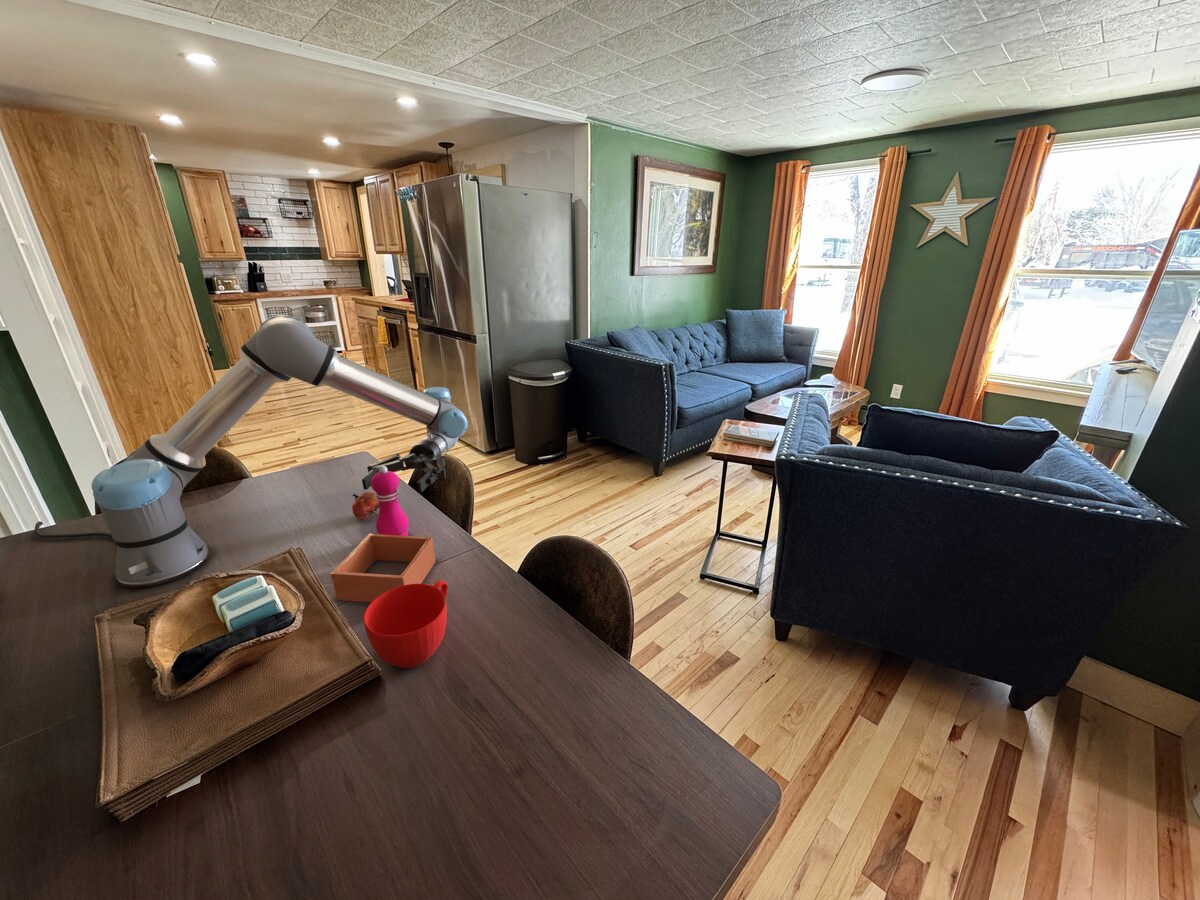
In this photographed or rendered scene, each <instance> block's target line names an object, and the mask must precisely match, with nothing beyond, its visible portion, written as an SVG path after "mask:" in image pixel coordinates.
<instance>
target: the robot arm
mask: <svg viewBox="0 0 1200 900" xmlns="http://www.w3.org/2000/svg"><path fill="white" fill-rule="evenodd" d="M239 352H240V359H239V360H237V362H235V363H234V365H232V367H231V368H230V369H229V370H228V371H226V372H225V374H224V375H223V376H222V377H220V378H219V379H218V381H216V382H215V384H213V385H212V386H211V388H210V389H208V391H206V392H205V393H204V395H202V396H201V398H200V399H198V401H196V402H195V403H194V405H193V406H191V407H190V409H188V410H187V411H186V413H184V414H183V415H182V416H181V417H180V418H179V420H178V419H177V421H176V422H175V423H174V424H173V425H172V426H171V427H170V428H169V429H168V430H167V431H166V432H165V433H157V434H156V433H155V434H152V435H151V436H150V437H149V438H148V439H147V440H146V441H145V442H144V443H143V444H142V445H141V446H140V447H138V448H136V450H134V451H132V452H130V453H129V454H128V455H127V457H125V460H124V461H123V462H120V463H117V464H114V465H111V466H110V468H106V469H103V470H102V471H100V472H99V473H98V474H96V475H95V476H94V477H93V479H92V481H91V490H92V496H93V499H94V501H95V503H96V504H97V505H98V508H99V510H100V512H101V515H102V517H103V520H104V521H105V523H106V525H107V528H108V530H109V532H99V531H98V532H85V533H84V532H82V533H65V534H44V533H41V531H40V527H41V526H43V525H44V523H43V521H37V522H36V523H35V524H34V525H35V526H34V533H35V535H36V536H37V537H39V538H43V539H60V538H81V537H82V538H83V537H94V536H101V537H108V538H112V540H113V542H114V544H115V546H116V555H115V566H114V567H115V570H114V573H115V577H116V580H117V583H118V584H119V585H120V586H121V587H124V588H129V589H143V588H149V587H155V586H160V585H163V584H167V583H170V582H173V581H175V580H179V579H180V578H183V577H184V576H187V575H189V574H191V573H192V572H194V571H196V570H198V569H199V568H200V567H201V566H203V565H204V564H205V563H206V562H207V561H208V559H209V557H210V551H209V548H208V546H207V544H206V543H205V542H204V540H203V539H202V538H201V537H200V536H199V535H198V534H197V533H196V532H195V531H194V530H193V529H192V528H191V527H190V525H189V523H188V521H187V518H186V515H185V512H184V510H183V506H182V503H181V496H182V494H183V492H184V489H185V487H186V486H188V484H189V483H190V482H191V481H192V480H193V479H194V478H195V477H196V476H197V475H198V474H199V472H201V470H203V468H205V467H206V464H207V462H206V461H207V460H206V458H205V456H206V455H207V454H208V453H209V452H210V451H211V450H212V449H213V448H214V447H215V446H216V445H217V444H218V443H219V442H220V441H221V440H222V439H223V438H224V437H225V436H226V434H228V433H229V432H230V431H231V429H232V428H234V426H235V425H236V424H238V422H240V421H241V419H242V418H243V417H244V416H245V415H247V413H249V411H251V409H252V408H253V407H254V406H255V405H257V403H258V402H259V401H260V400H261V399H262V398H264V396H265V395H266V394H267V393H268V392H269V391H270V390H271V389H272V388H273V387H274V386H275V385H277V384H278V383H287V382H289V381H290V380H291V379H292V378H294V379H296V380H298V381H301V382H303V383H307V384H310V385H312V386H314V387H317V388H318V387H322V386H327V387H329V388H332V389H334V390H337V391H339V392H340V393H341V392H342V393H345V394H346V395H349V396H351V397H354V398H357V399H359V400H361V401H364V402H366V403H370V404H372V405H373V406H376V407H379V408H382V409H384V410H386V411H388V412H391V413H393V414H396V415H399V416H401V417H404V418H406V419H409V420H412V421H414V422H416V423H419V424H421V425H424V426H426V434H425V436H424V437H423V438H422V439H421V440H419V441H418V442H417V443H416V444H414V445H413V446H412V447H411V448H410V451H409V452H408V454H406V455H404V456H400V453H395V454H393V455H391V456H390V457H386V458H384V459H381V460H379V461H376V462H373V463H371V464H368V465H367V466H366V468H367V473H366V474H365V476H364V477H363V478H362V479H361V483H362V488H363V490H366V491H367V490H368V489H370V488H371V480H372V478H373V476H374V475H375V474H377V473H378V472H379V468H380V467H381V466H385V467H386V468H387V471H391V472H394V473H395V472H398V471H402V472H405V471H408V470H422V471H423V472H424V475H423V476H422V477H421V478H420V479H419V480H418V481H417V482H416V483H417V484H416V485H417V489H418V490H417V491H418V493H421V494H422V493H423V492H424V491H425V490H426V489H427V488H428V487H429V485H432V484H433V483H435V482H436V481H438V480H439V479H441V480H446V479H447V474H446V473H447V472H446V467H445V466H446V460H445V455H447V453H448V452H449V451H450V450H451V449H453V448H454V447H455V445H456V443H457V442H458V440H459V438H460V437H462V436H463V435H464V434H465V433H466V431H467V429H468V425H469V423H468V418H467V417H466V416H465V414H464V412H462V410H460V409H459V408H458V407H457V406H456V405H454V404H453V403H452V400H451V399H452V396H451V393H450V390H449V388H447V387H443V386H433V387H428V388H425V389H424V390H423V391H422V392H421V391H419V390H417V389H414V388H412V387H411V386H408V385H406V384H404V383H401V382H400V381H397V380H396V379H395V380H394V379H393V378H391V377H388V376H386V375H384V374H382V373H379V372H377V371H374V370H372V369H371V368H369V367H366V366H363V365H362V364H359V363H357V362H354V361H353V360H350V359H348V358H346V357H344V356H341V355H340V354H339V352H338V350H337V349H336V348H334V347H333V346H330V345H328V344H326V343H325V342H323V341H321V340H320V339H318V338H317V337H316V335H315V333H314V331H313V330H312V329H311V327H310V326H308V324H306V323H305V322H304V321H302V320H301V319H299V318H296V317H294V316H290V315H275V316H271V317H269V318H267V319H265V320H264V321H262V323H261V324H260V326H259V327H258V330H257V331H256V332H254V334H252V335H251V337H250V338H249V339H248V340H247V341H246V342H244V344H243V345H241V347H239ZM435 466H437V467H435ZM37 530H39V531H37ZM35 531H36V532H35Z"/></svg>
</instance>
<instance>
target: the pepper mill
mask: <svg viewBox="0 0 1200 900" xmlns="http://www.w3.org/2000/svg"><path fill="white" fill-rule="evenodd" d="M399 486H400V478H399V476H398V475H397V474H396V473H395V472H391V471H387V468H386V467H385V466H381V467H380V468H379V472H378V473H377V474H375V475H374V476H373V478H372V480H371V486H370V488H371V489H372V490H373V491H374V492H375V495H376V499H377V500H378V501H379V508H378V516H377V518H376V522H375V529H376V532H377V534H383V535H400V536H409V532H408V531H409V530H407V529H408V528H409V526H410V525H409V523H410V522H409V519H408V516H407V515H406V513H405V512H404V510H403V509H402V508H401V506H400V504H399V499H398V497H399V496H400V493H399Z"/></svg>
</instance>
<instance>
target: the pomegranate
mask: <svg viewBox="0 0 1200 900" xmlns="http://www.w3.org/2000/svg"><path fill="white" fill-rule="evenodd" d="M375 493H376V492H375ZM375 493H374V492H371V491H366V492H363V493H361V494H360V495H357V494H356V493H353V494H352V495H351V497H354V502H353V503H352V504H351V511H352V514H353V516H354V517H355V518H357V519H358V520H362V521H367V519H369V517H370V516H373V515H375V516H377V517H378V515H379V513H377V512H378V511H379V509H380V508H379V501H378V500H377V499H376V495H375Z"/></svg>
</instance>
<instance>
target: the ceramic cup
mask: <svg viewBox="0 0 1200 900" xmlns="http://www.w3.org/2000/svg"><path fill="white" fill-rule="evenodd" d="M448 590H449V585H448V583H447V582H446V581H445V580H438V581H436V582H435V583H434V584H433V585H431V584H427V583H421V584H408V585H403V586H399V587H396V588H394V589H391V590H389V591H387V592H385V593H383V594H382V595H380V596H379V597H377V598H376V599H375V600H374V601H373V602H370V603H369V605H368V607H367V608H366V610H365V611H364V615H363V625H364V630H365V632H366V636H367V639H368V641H369V643H370V646H371V647H372V649H373V651H374V652H375V654H376V655H377V656H378V657H379V658H380V659H382V660H383V661H384V662H385V663H387V664H389V665H392V666H395V667H399V668H403V669H411V668H415V667H417V666H421V665H422V664H424V663H425V662H427V661H428V660H429V659H430V658H431V656H433V654H434V653H435V652H436V651H437V650H438V648H439V646H440V645H441V643H442V641H443V639H444V636H445V632H446V627H447V617H448V615H447V613H448V610H447V609H448V608H447V597H448Z"/></svg>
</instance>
